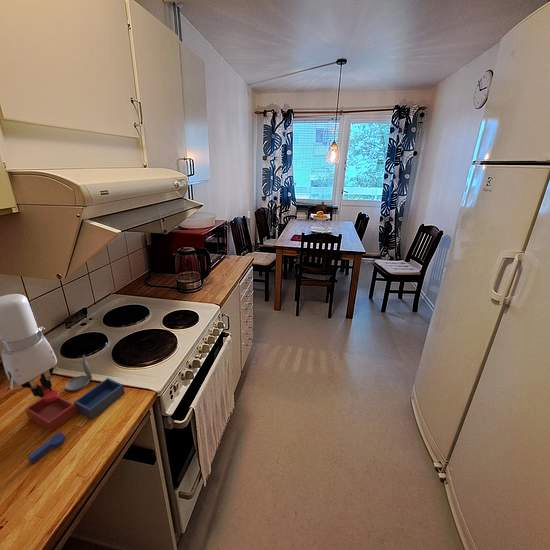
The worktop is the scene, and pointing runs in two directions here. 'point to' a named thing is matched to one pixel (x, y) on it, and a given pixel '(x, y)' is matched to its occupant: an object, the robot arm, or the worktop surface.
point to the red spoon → (49, 394)
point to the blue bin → (99, 398)
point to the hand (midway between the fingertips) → (43, 392)
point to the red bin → (51, 412)
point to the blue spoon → (47, 447)
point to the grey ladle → (80, 379)
